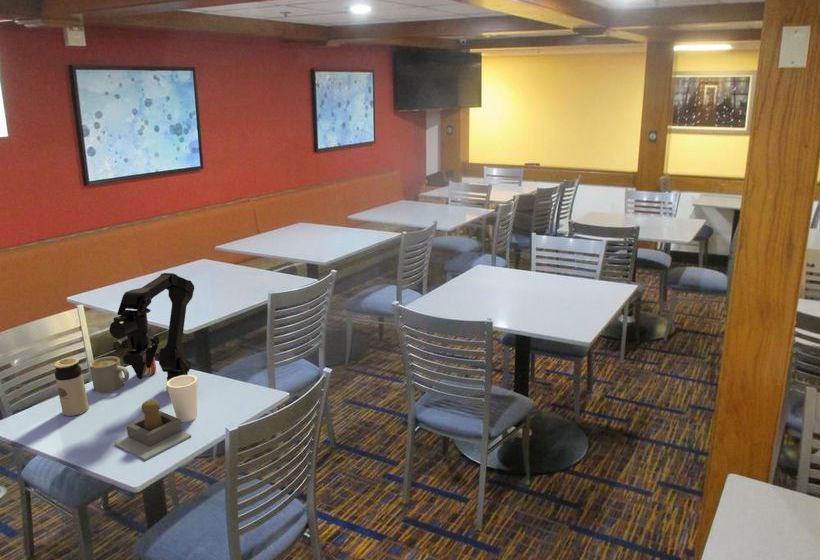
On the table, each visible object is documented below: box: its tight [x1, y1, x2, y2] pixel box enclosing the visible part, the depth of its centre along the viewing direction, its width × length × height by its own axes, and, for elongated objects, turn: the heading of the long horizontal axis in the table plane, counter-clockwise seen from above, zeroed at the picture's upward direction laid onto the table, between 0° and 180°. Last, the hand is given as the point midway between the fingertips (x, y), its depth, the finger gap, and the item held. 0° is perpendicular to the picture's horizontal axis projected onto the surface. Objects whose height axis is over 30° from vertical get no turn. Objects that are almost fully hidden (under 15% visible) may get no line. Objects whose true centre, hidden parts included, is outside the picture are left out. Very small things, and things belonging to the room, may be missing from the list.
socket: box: [114, 410, 192, 461], centre depth 204 cm, size 16×16×5 cm
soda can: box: [132, 349, 157, 377], centre depth 251 cm, size 7×7×12 cm
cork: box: [141, 399, 163, 431], centre depth 206 cm, size 6×6×11 cm
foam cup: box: [166, 374, 199, 423], centre depth 217 cm, size 10×9×13 cm
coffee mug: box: [89, 355, 130, 394], centre depth 241 cm, size 13×10×10 cm
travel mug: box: [53, 357, 90, 417], centre depth 223 cm, size 8×8×18 cm
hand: (144, 373), depth 223 cm, fingers open, 9 cm apart
